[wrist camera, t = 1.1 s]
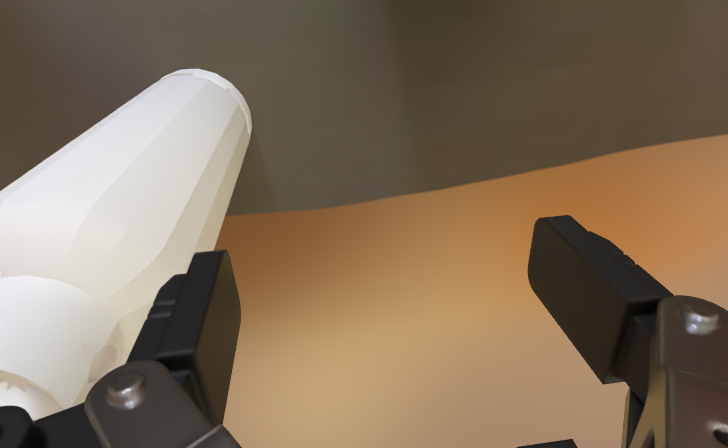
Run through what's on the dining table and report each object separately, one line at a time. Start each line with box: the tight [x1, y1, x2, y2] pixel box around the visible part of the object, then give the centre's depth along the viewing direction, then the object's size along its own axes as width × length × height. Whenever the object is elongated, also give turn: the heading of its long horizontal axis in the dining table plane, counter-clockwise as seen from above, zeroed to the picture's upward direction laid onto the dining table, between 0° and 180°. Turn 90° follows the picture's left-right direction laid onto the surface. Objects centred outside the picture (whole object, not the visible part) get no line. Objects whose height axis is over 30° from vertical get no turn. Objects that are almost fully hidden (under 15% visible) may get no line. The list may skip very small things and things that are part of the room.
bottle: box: [0, 69, 252, 421], centre depth 23 cm, size 8×8×28 cm
